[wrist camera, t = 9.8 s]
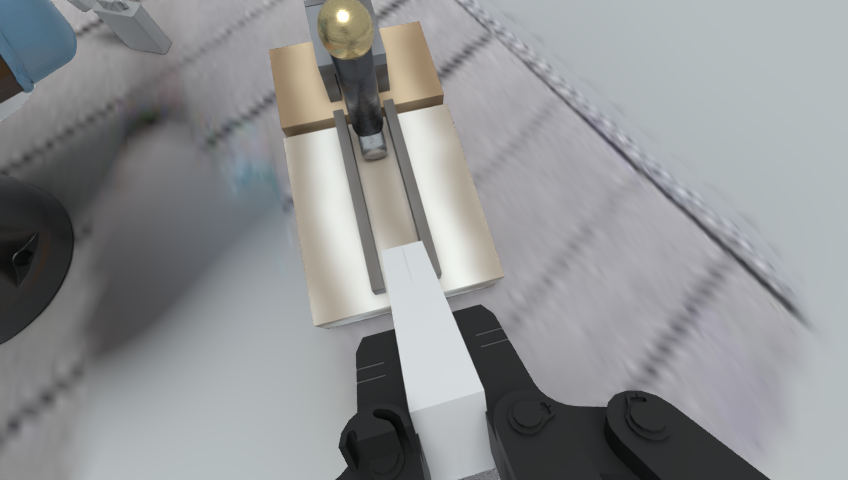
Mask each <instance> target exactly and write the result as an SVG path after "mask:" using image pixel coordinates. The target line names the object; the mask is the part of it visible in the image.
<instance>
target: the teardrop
mask: <svg viewBox="0 0 848 480" xmlns="http://www.w3.org/2000/svg"><path fill="white" fill-rule="evenodd" d="M36 85H37V83H35V84H34V89H35V88H36ZM34 89H33V90H32V92H29V93H25V92H23V91H22V92H21V93H19V94H17V95H15V96H13V97H12V98H10V99H8V100H6V101H5V102H3V103H1V104H0V121H3V120H5V119H6V118H7V117H9V116H10V115H11V114H12V113H13V112H15V111H16V110H17V109H18V108H19V107H21V106H22V105H23V104H24V103H26V102H27V100H28V99H29V97H30V96H31V94H32V93H33V91H34Z"/></svg>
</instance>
